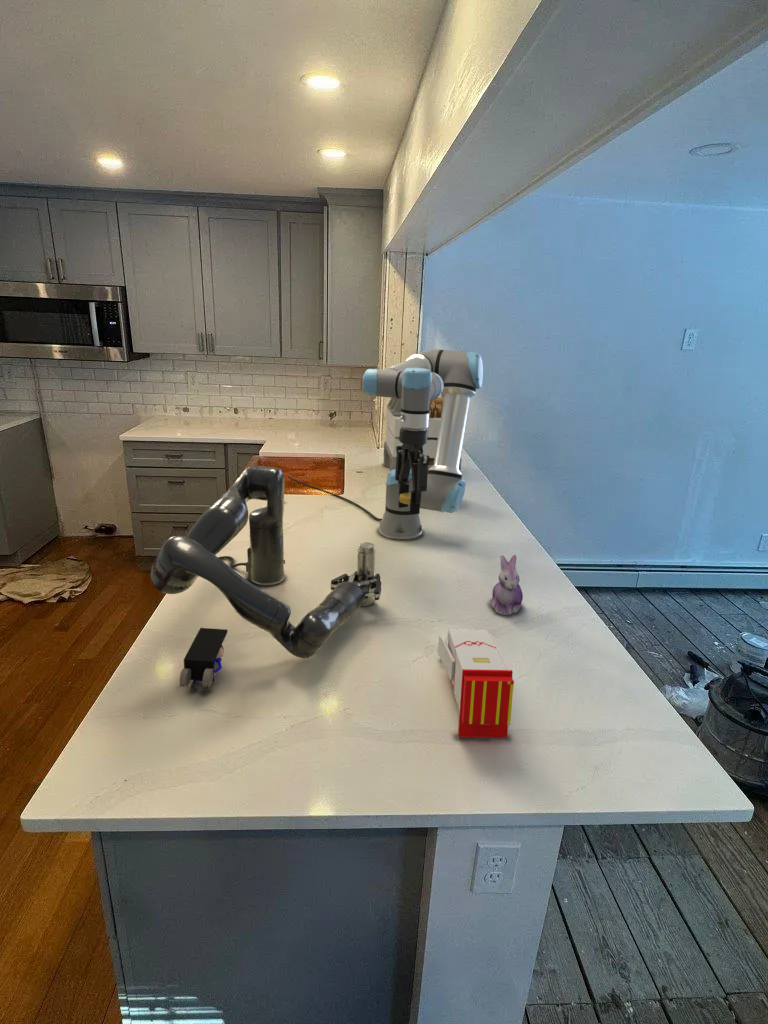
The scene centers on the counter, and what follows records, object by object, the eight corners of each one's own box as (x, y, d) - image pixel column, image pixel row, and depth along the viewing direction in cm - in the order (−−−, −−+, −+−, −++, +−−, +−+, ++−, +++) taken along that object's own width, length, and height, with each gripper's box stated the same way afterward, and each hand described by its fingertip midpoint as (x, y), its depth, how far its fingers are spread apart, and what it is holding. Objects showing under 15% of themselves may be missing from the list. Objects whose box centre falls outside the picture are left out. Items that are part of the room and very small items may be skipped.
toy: (488, 613, 130) (523, 677, 101) (484, 667, 133) (517, 744, 104) (435, 612, 130) (455, 676, 101) (432, 666, 133) (451, 743, 103)
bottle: (354, 604, 151) (356, 547, 146) (358, 596, 155) (359, 540, 150) (371, 606, 151) (373, 549, 145) (374, 598, 155) (376, 542, 149)
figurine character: (214, 702, 114) (231, 653, 127) (210, 673, 110) (228, 625, 124) (180, 702, 114) (200, 652, 127) (175, 673, 110) (197, 625, 124)
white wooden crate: (382, 463, 289) (386, 382, 275) (445, 464, 293) (451, 384, 279) (390, 482, 257) (394, 392, 243) (460, 483, 261) (468, 394, 247)
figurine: (504, 619, 147) (511, 567, 142) (480, 601, 155) (486, 551, 150) (532, 612, 151) (540, 561, 146) (508, 595, 159) (514, 546, 154)
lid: (413, 506, 154) (414, 500, 153) (395, 501, 157) (395, 496, 156) (422, 500, 159) (423, 495, 158) (404, 496, 161) (405, 491, 161)
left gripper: (316, 609, 142) (345, 581, 157) (368, 622, 137) (393, 592, 152) (316, 582, 139) (346, 557, 154) (369, 595, 134) (395, 567, 149)
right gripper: (384, 422, 157) (381, 501, 164) (420, 436, 141) (414, 523, 149) (408, 421, 160) (403, 499, 168) (445, 434, 145) (438, 519, 153)
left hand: (369, 575), depth 153 cm, fingers closed on bottle, 4 cm apart
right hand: (408, 510), depth 159 cm, fingers closed on lid, 5 cm apart
